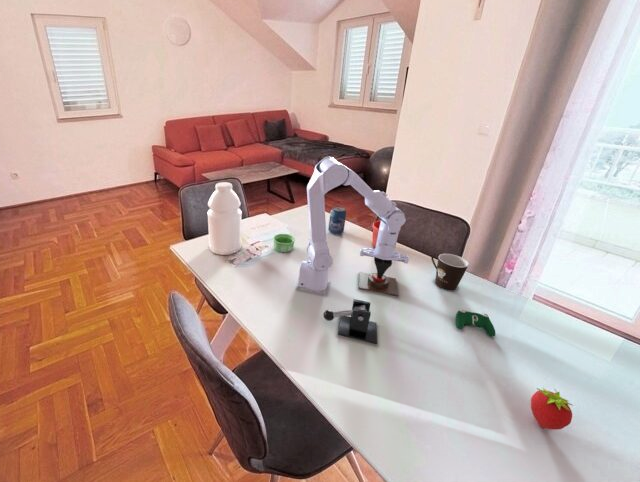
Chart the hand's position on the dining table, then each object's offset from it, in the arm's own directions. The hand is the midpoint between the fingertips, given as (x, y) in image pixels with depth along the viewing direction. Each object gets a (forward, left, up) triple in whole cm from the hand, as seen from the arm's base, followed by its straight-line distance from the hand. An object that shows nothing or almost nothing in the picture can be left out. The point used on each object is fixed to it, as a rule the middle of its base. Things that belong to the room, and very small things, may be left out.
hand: (379, 276), depth 107 cm
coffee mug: (+22, +10, -4) cm, 24 cm away
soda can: (-17, +38, -4) cm, 42 cm away
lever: (-10, -25, 0) cm, 27 cm away
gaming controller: (+25, -12, -4) cm, 28 cm away
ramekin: (-37, +15, -3) cm, 40 cm away
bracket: (-6, -25, -4) cm, 26 cm away
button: (0, 0, -2) cm, 2 cm away
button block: (0, 0, -4) cm, 4 cm away
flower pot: (+3, +31, -4) cm, 31 cm away
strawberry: (+30, -40, -4) cm, 50 cm away
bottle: (-60, +7, -4) cm, 61 cm away
